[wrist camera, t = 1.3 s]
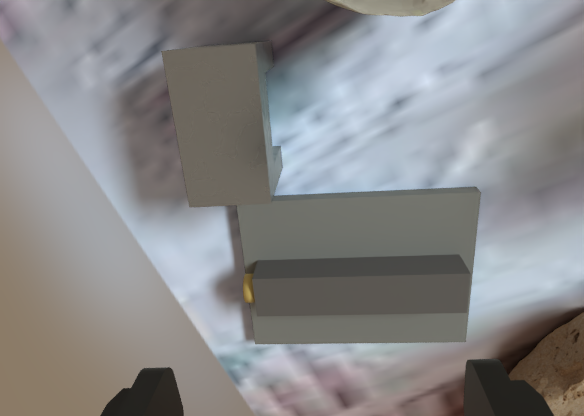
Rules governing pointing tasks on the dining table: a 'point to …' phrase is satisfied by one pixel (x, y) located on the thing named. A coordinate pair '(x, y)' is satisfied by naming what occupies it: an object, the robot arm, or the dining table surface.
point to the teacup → (392, 6)
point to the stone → (557, 369)
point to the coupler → (360, 266)
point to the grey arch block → (224, 122)
